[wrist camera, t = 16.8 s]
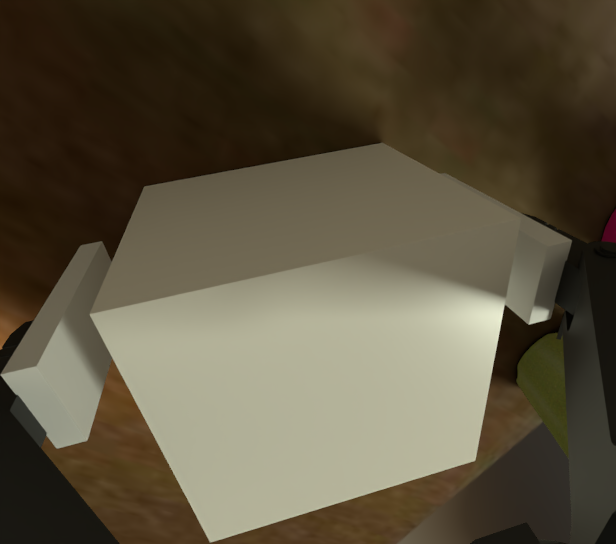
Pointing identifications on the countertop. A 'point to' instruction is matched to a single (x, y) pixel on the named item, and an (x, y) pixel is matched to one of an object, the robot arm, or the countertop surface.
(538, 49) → the countertop surface
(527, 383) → the plant pot
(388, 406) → the cream cuboid
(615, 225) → the pepper mill
